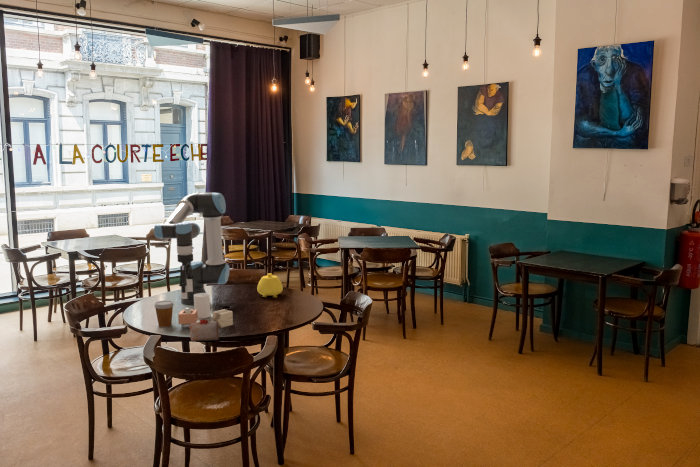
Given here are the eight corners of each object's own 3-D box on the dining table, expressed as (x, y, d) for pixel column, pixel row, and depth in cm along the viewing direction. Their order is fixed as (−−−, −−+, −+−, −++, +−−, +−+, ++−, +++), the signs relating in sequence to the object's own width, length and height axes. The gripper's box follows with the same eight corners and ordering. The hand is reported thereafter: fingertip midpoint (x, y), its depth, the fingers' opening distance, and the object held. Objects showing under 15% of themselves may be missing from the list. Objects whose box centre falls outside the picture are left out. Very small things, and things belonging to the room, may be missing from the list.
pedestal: (213, 325, 311) (212, 311, 310) (224, 322, 316) (224, 309, 315) (221, 327, 306) (221, 314, 305) (232, 324, 311) (232, 311, 310)
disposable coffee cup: (157, 323, 315) (156, 300, 313) (176, 322, 316) (175, 300, 314) (153, 328, 306) (152, 305, 304) (172, 327, 306) (171, 304, 305)
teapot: (259, 291, 383) (259, 269, 381) (284, 290, 384) (283, 269, 382) (255, 299, 364) (255, 276, 362) (281, 298, 364) (281, 276, 362)
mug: (192, 313, 332) (191, 292, 330) (207, 312, 335) (206, 290, 334) (195, 319, 321) (194, 297, 320) (211, 317, 325) (210, 295, 323)
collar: (178, 324, 303) (178, 314, 302) (182, 319, 311) (181, 309, 310) (194, 323, 303) (194, 313, 302) (197, 319, 311) (197, 309, 310)
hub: (178, 327, 307) (177, 308, 306) (190, 324, 312) (189, 305, 311) (186, 330, 302) (185, 310, 301) (198, 327, 308) (197, 307, 306)
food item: (188, 342, 283) (188, 322, 282) (190, 337, 291) (190, 317, 290) (218, 341, 285) (217, 321, 284) (219, 336, 293) (219, 316, 292)
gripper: (187, 258, 290) (189, 301, 293) (197, 248, 314) (199, 288, 318) (171, 258, 289) (174, 301, 293) (182, 249, 314) (184, 288, 317)
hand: (187, 295), depth 305 cm, fingers open, 13 cm apart
